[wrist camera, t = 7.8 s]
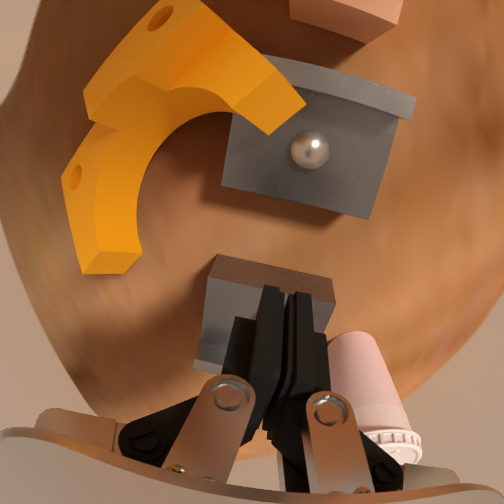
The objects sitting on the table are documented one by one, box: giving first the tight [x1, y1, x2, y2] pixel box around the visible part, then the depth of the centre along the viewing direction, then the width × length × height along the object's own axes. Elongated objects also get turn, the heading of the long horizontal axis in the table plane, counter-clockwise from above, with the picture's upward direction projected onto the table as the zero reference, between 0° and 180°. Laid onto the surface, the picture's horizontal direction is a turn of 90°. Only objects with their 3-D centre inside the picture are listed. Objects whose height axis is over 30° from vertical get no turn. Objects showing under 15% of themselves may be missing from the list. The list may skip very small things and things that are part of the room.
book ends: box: [193, 54, 417, 375], centre depth 16 cm, size 17×7×4 cm, turn 169°
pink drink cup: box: [327, 331, 422, 465], centre depth 15 cm, size 6×6×14 cm
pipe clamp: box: [61, 0, 306, 274], centre depth 12 cm, size 12×4×6 cm
